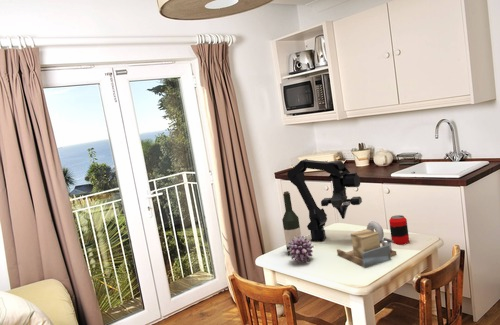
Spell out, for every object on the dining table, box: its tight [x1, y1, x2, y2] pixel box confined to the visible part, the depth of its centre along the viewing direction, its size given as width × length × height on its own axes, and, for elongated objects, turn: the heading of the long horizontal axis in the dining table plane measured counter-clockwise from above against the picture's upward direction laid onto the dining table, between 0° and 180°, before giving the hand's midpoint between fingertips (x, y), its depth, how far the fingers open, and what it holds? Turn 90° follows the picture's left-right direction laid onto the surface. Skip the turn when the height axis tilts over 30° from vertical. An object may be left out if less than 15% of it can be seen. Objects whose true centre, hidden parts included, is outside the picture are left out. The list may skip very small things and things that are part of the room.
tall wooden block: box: [350, 228, 381, 259], centre depth 178 cm, size 8×8×11 cm
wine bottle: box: [281, 191, 302, 257], centre depth 202 cm, size 8×8×30 cm
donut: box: [366, 221, 385, 243], centre depth 200 cm, size 10×3×10 cm, turn 24°
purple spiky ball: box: [286, 235, 314, 263], centre depth 189 cm, size 12×12×12 cm
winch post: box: [381, 237, 397, 258], centre depth 179 cm, size 6×5×8 cm
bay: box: [336, 245, 392, 269], centre depth 182 cm, size 20×13×7 cm, turn 21°
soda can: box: [388, 214, 410, 246], centre depth 194 cm, size 8×8×12 cm
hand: (343, 218), depth 205 cm, fingers closed
